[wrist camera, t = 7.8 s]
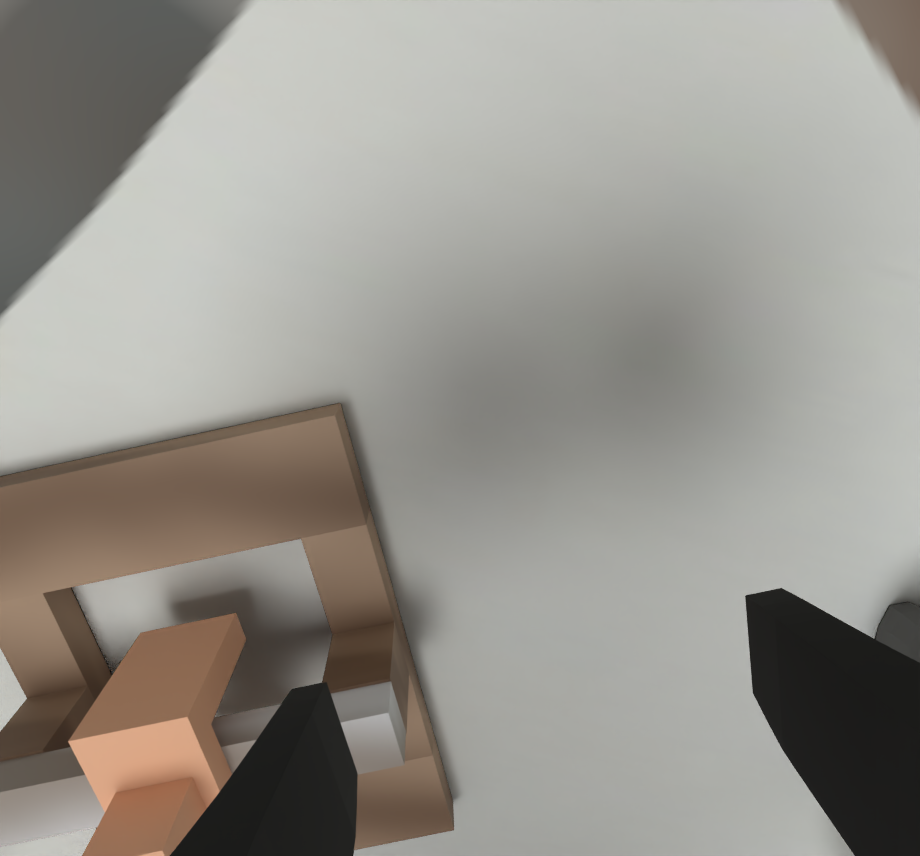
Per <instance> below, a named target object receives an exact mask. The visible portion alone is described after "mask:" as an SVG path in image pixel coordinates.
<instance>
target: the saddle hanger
mask: <svg viewBox="0 0 920 856" xmlns="http://www.w3.org/2000/svg"><path fill="white" fill-rule="evenodd" d="M245 642H246V638H245V635H244V632H243V630H242V627H241V624H240V622H239V619H238V617H237V614H236V613H233V614H228V615H223V616H218V617H214V618H209V619H204V620H199V621H195V622H190V623H185V624H180V625H175V626H171V627H166V628H161V629H156V630H152V631H147V632H142V633H140V634H139V636H138V637H137V639H136V640H135V642H134V643H133V645H132V646H131V648H130V649H129V651H128V652H127V654H126V655H125V657H124V658H123V660H122V661H121V663H120V664H119V666H118V667H117V669H116V670H115V672H114V673H113V675H112V676H111V678H110V679H109V681H108V682H107V684H106V685H105V687H104V688H103V690H102V691H101V693H100V694H99V696H98V697H97V699H96V700H95V702H94V703H93V705H92V706H91V708H90V709H89V711H88V712H87V714H86V715H85V717H84V718H83V720H82V721H81V723H80V724H79V726H78V727H77V729H76V730H75V732H74V733H73V735H72V736H71V738H70V739H69V741H68V742H69V744H70V746H71V748H72V750H73V752H74V754H75V756H76V758H77V760H78V762H79V764H80V766H81V767H82V769H83V771H84V773H85V775H86V777H87V779H88V781H89V783H90V785H91V787H92V789H93V791H94V793H95V795H96V796H97V798H98V800H99V802H100V804H101V806H102V808H103V810H104V812H105V814H104V815H103V817H102V819H101V821H100V823H99V825H98V827H97V829H96V831H95V832H94V834H93V836H92V838H91V840H90V842H89V844H88V846H87V848H86V849H85V851H84V853H83V855H82V856H170V855H171V853H172V852H173V851H174V850H175V849H176V847H177V846H178V845H179V843H180V842H181V841H182V840H183V838H184V837H185V836H186V834H187V833H188V832H189V831H190V829H191V828H192V827H193V825H194V824H195V823H196V822H197V820H198V819H199V818H200V816H201V815H202V814H203V813H204V811H205V810H206V809H207V808H208V806H209V805H210V804H211V802H212V801H213V800H214V799H215V797H216V796H217V795H218V793H219V792H220V790H221V789H222V788H223V786H224V785H225V784H226V782H227V781H228V779H229V778H230V777H231V775H232V773H231V770H230V768H229V765H228V763H227V761H226V758H225V756H224V754H223V751H222V749H221V746H220V744H219V742H218V739H217V737H216V735H215V732H214V730H213V727H212V725H211V724H212V721H213V719H214V716H215V714H216V712H217V709H218V707H219V704H220V702H221V700H222V697H223V695H224V692H225V690H226V688H227V685H228V683H229V680H230V678H231V675H232V673H233V671H234V668H235V666H236V663H237V661H238V659H239V656H240V654H241V651H242V649H243V647H244V644H245Z"/></svg>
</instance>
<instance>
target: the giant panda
mask: <svg viewBox="0 0 920 856" xmlns="http://www.w3.org/2000/svg"><path fill="white" fill-rule="evenodd" d="M875 640H877V641H879V642H881V643H883V644H885V645H887V646H889V647H890V648H892V649H894V650H896V651H898V652H900V653H902V654H904V655H906V656H908V657H910V658H912V659H914V660H916V661H917V662H919V663H920V606H917V605H915V604H912V603H910V602H905V603H901V604H896V605H891V606H889V608H888V610H887V612H886V614H885V615H884V617H883V619H882V621H881V623H880V625H879V628H878V631H877V635H876V639H875Z"/></svg>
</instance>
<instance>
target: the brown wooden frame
mask: <svg viewBox="0 0 920 856" xmlns="http://www.w3.org/2000/svg"><path fill="white" fill-rule="evenodd" d="M297 539H301V540H302V543H303V546H304V549H305V552H306V555H307V558H308V561H309V565H310V568H311V571H312V574H313V577H314V580H315V583H316V586H317V589H318V592H319V595H320V598H321V601H322V604H323V607H324V610H325V614H326V617H327V620H328V623H329V626H330V629H331V632H332V640H331V644H330V649H329V653H328V658H327V662H326V667H325V672H324V676H323V681H322V683H324V682H327V685H328V688H329V690H330V693H331V696H332V699H333V702H334V705H335V708H336V711H337V714H338V717H339V720H340V723H341V726H342V729H343V732H344V735H345V738H346V741H347V743H348V746H349V749H350V752H351V755H352V758H353V761H354V764H355V767H356V770H357V773H358V779H357V818H356V838H355V846H354V850H357V849H362V848H367V847H372V846H377V845H382V844H387V843H392V842H397V841H402V840H407V839H412V838H417V837H422V836H427V835H432V834H437V833H442V832H447V831H452V830H454V814H453V800H452V796H451V793H450V789H449V786H448V782H447V779H446V775H445V772H444V768H443V764H442V761H441V757H440V754H439V750H438V747H437V743H436V740H435V736H434V733H433V729H432V726H431V722H430V718H429V715H428V711H427V708H426V704H425V701H424V697H423V694H422V690H421V687H420V683H419V680H418V676H417V673H416V669H415V665H414V662H413V658H412V655H411V651H410V648H409V644H408V641H407V637H406V634H405V630H404V627H403V623H402V619H401V616H400V612H399V609H398V605H397V602H396V598H395V595H394V591H393V588H392V584H391V581H390V577H389V574H388V570H387V566H386V563H385V559H384V556H383V552H382V549H381V545H380V542H379V538H378V535H377V531H376V528H375V524H374V520H373V517H372V513H371V510H370V506H369V503H368V499H367V496H366V492H365V489H364V485H363V482H362V478H361V475H360V471H359V467H358V464H357V460H356V457H355V453H354V450H353V446H352V443H351V439H350V436H349V432H348V429H347V425H346V421H345V418H344V414H343V411H342V407H341V404H340V403H338V404H333V405H329V406H324V407H320V408H315V409H310V410H306V411H301V412H296V413H292V414H287V415H283V416H278V417H273V418H269V419H264V420H259V421H255V422H250V423H246V424H241V425H236V426H232V427H227V428H222V429H218V430H213V431H209V432H204V433H199V434H195V435H190V436H186V437H181V438H176V439H172V440H167V441H162V442H158V443H153V444H149V445H144V446H139V447H135V448H130V449H125V450H121V451H116V452H112V453H107V454H102V455H98V456H93V457H88V458H84V459H79V460H75V461H70V462H65V463H61V464H56V465H51V466H47V467H42V468H38V469H33V470H28V471H24V472H19V473H15V474H10V475H5V476H1V477H0V648H1V650H2V652H3V654H4V655H5V657H6V659H7V661H8V663H9V665H10V667H11V669H12V671H13V672H14V674H15V676H16V678H17V680H18V682H19V684H20V686H21V688H22V690H23V691H24V693H25V695H26V697H27V699H26V701H25V702H24V703H23V704H22V706H21V707H20V708H19V709H18V711H17V712H16V713H15V714H14V716H13V717H12V718H11V719H10V721H9V722H8V723H7V724H6V725H5V727H4V728H3V729H2V730H1V732H0V847H3V846H8V845H13V844H18V843H23V842H28V841H33V840H37V839H42V838H47V837H52V836H57V835H62V834H67V833H72V832H77V831H82V830H87V829H92V828H96V829H97V827H98V825H99V823H100V821H101V819H102V817H103V815H104V814H105V812H104V810H103V808H102V806H101V804H100V802H99V800H98V798H97V796H96V795H95V793H94V791H93V789H92V787H91V785H90V783H89V781H88V779H87V777H86V775H85V773H84V771H83V769H82V767H81V766H80V764H79V762H78V760H77V758H76V756H75V754H74V752H73V750H72V748H71V746H70V744H69V742H68V741H69V739H70V738H71V736H72V735H73V733H74V732H75V730H76V729H77V727H78V726H79V724H80V723H81V721H82V720H83V718H84V717H85V715H86V714H87V712H88V711H89V709H90V708H91V706H92V705H93V703H94V702H95V700H96V699H97V697H98V696H99V694H100V693H101V691H102V690H103V688H104V687H105V685H106V684H107V682H108V681H109V679H110V678H111V676H112V675H111V673H110V670H109V668H108V666H107V664H106V662H105V660H104V658H103V656H102V653H101V651H100V649H99V647H98V645H97V643H96V641H95V638H94V636H93V634H92V632H91V630H90V628H89V626H88V624H87V621H86V619H85V617H84V615H83V613H82V611H81V609H80V607H79V604H78V602H77V600H76V598H75V596H74V594H73V592H72V590H71V587H74V586H79V585H84V584H89V583H93V582H98V581H103V580H108V579H112V578H117V577H122V576H126V575H131V574H136V573H141V572H145V571H150V570H155V569H160V568H164V567H169V566H174V565H178V564H183V563H188V562H193V561H197V560H202V559H207V558H211V557H216V556H221V555H226V554H230V553H235V552H240V551H245V550H249V549H254V548H259V547H263V546H268V545H273V544H278V543H282V542H287V541H292V540H297ZM280 705H281V704H278V705H273V706H268V707H263V708H259V709H254V710H249V711H244V712H239V713H234V714H229V715H225V716H220V717H215V718H214V719H213V721H212V724H211V725H212V727H213V730H214V732H215V735H216V737H217V739H218V742H219V744H220V746H221V749H222V751H223V754H224V756H225V758H226V761H227V763H228V765H229V768H230V770H231V773H232V774H233V772H234V771H235V770H236V768H237V767H238V765H239V764H240V763H241V761H242V760H243V759H244V757H245V756H246V754H247V753H248V751H249V750H250V748H251V747H252V746H253V744H254V743H255V741H256V740H257V738H258V737H259V735H260V734H261V733H262V731H263V730H264V728H265V727H266V725H267V724H268V722H269V721H270V720H271V718H272V717H273V715H274V714H275V712H276V711H277V709H278V708H279V707H280Z"/></svg>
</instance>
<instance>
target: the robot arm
mask: <svg viewBox="0 0 920 856" xmlns="http://www.w3.org/2000/svg"><path fill="white" fill-rule="evenodd" d="M745 597H746V610H747V623H748V636H749V648H750V661H751V674H752V687H753V694H754V696H755V698H756V700H757V702H758V704H759V706H760V708H761V710H762V712H763V714H764V716H765V718H766V719H767V721H768V723H769V725H770V727H771V729H772V731H773V733H774V735H775V736H776V738H777V740H778V742H779V744H780V746H781V747H782V749H783V751H784V753H785V754H786V756H787V757H788V759H789V760H790V762H791V763H792V765H793V766H794V768H795V769H796V771H797V772H798V773H799V775H800V776H801V778H802V779H803V781H804V782H805V784H806V785H807V787H808V788H809V790H810V791H811V793H812V794H813V796H814V797H815V798H816V800H817V801H818V803H819V804H820V806H821V807H822V809H823V810H824V812H825V813H826V814H827V816H828V817H829V819H830V820H831V822H832V823H833V825H834V826H835V828H836V829H837V830H838V832H839V833H840V835H841V836H842V838H843V839H844V841H845V842H846V844H847V845H848V846H849V848H850V849H851V851H852V852H853V854H854V855H855V856H920V663H919V662H917V661H916V660H914V659H912V658H910V657H908V656H906V655H904V654H902V653H900V652H898V651H896V650H894V649H892V648H890V647H889V646H887V645H885V644H883V643H881V642H879V641H877V640H875V639H873V638H872V637H870V636H868V635H866V634H864V633H862V632H861V631H859V630H857V629H855V628H853V627H852V626H850V625H848V624H846V623H844V622H842V621H841V620H839V619H837V618H835V617H833V616H832V615H830V614H828V613H826V612H825V611H823V610H821V609H819V608H817V607H816V606H814V605H812V604H810V603H808V602H807V601H805V600H803V599H801V598H799V597H797V596H796V595H794V594H792V593H790V592H788V591H786V590H784V589H782V588H780V589H775V590H770V591H765V592H760V593H756V594H751V595H746V596H745ZM357 779H358V773H357V770H356V767H355V764H354V761H353V758H352V755H351V752H350V749H349V746H348V743H347V741H346V738H345V735H344V732H343V729H342V726H341V723H340V720H339V717H338V714H337V711H336V708H335V705H334V702H333V699H332V696H331V693H330V690H329V688H328V685H327V682H324V683H319V684H314V685H309V686H305V687H300V688H295V689H292V690H291V691H290V693H289V694H288V695H287V697H286V698H285V699H284V701H283V702H282V704H281V705H280V707H279V708H278V709H277V711H276V712H275V714H274V715H273V717H272V718H271V720H270V721H269V722H268V724H267V725H266V727H265V728H264V730H263V731H262V733H261V734H260V735H259V737H258V738H257V740H256V741H255V743H254V744H253V746H252V747H251V748H250V750H249V751H248V753H247V754H246V756H245V757H244V759H243V760H242V761H241V763H240V764H239V765H238V767H237V768H236V770H235V771H234V772H233V774H232V775H231V777H230V778H229V779H228V781H227V782H226V784H225V785H224V786H223V788H222V789H221V790H220V792H219V793H218V795H217V796H216V797H215V799H214V800H213V801H212V802H211V804H210V805H209V806H208V808H207V809H206V810H205V811H204V813H203V814H202V815H201V816H200V818H199V819H198V820H197V822H196V823H195V824H194V825H193V827H192V828H191V829H190V831H189V832H188V833H187V834H186V836H185V837H184V838H183V840H182V841H181V842H180V843H179V845H178V846H177V847H176V849H175V850H174V851H173V852H172V853H171V855H170V856H353V853H354V846H355V838H356V818H357Z"/></svg>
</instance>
